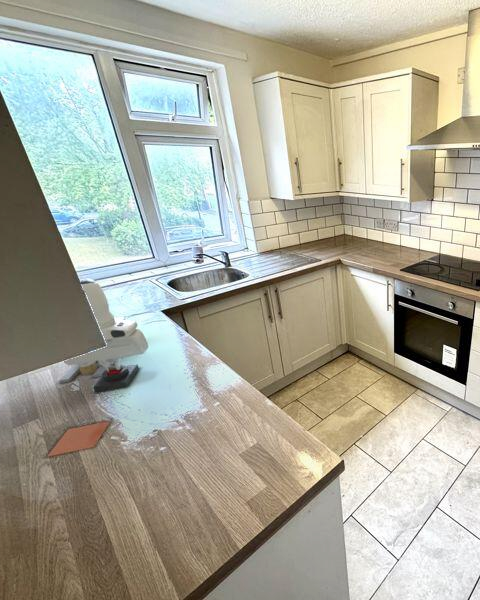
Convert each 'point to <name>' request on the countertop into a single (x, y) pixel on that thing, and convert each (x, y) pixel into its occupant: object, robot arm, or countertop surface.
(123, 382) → the power switch
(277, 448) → the countertop surface
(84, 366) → the sprinkles bottle
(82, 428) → the coaster
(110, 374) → the power button
